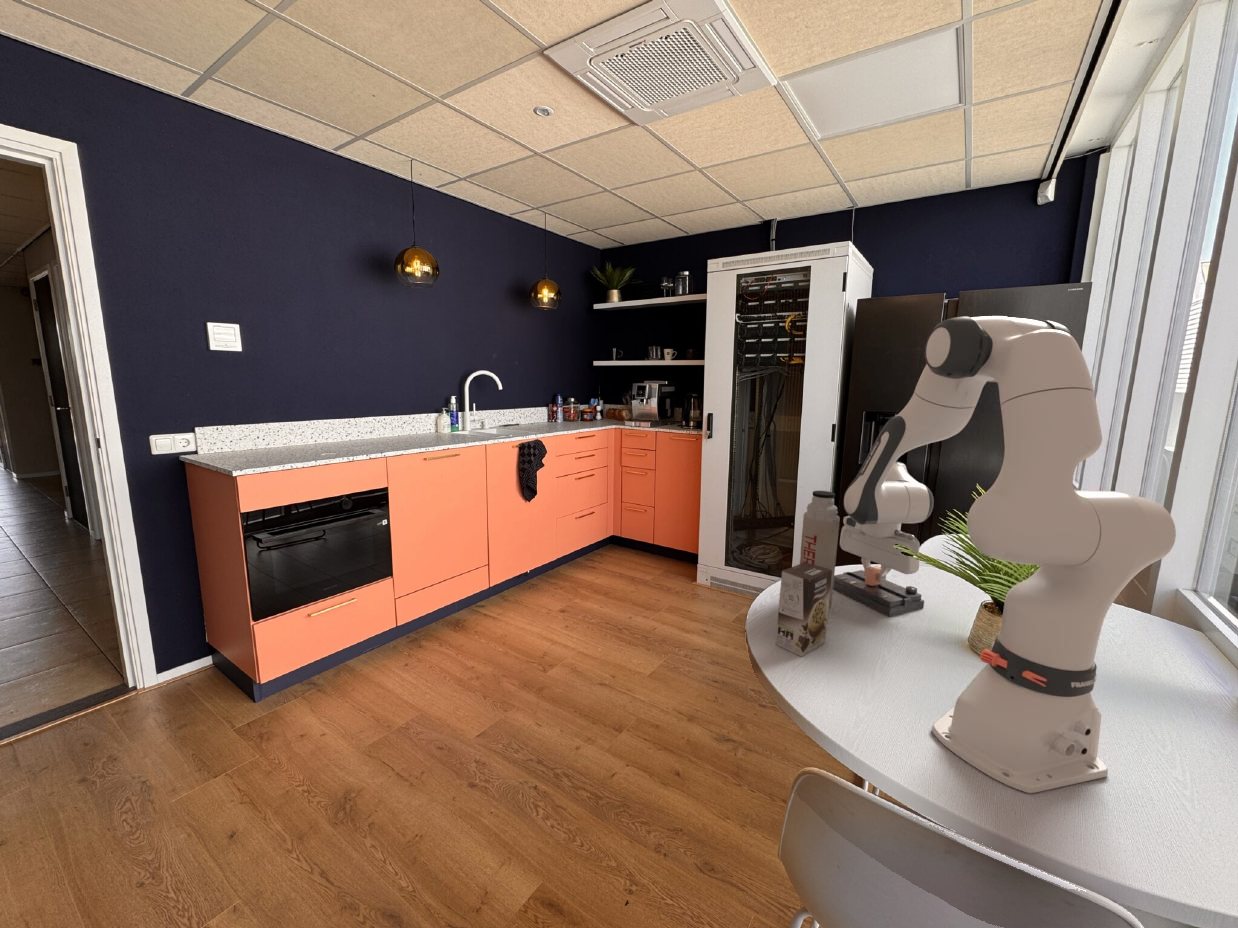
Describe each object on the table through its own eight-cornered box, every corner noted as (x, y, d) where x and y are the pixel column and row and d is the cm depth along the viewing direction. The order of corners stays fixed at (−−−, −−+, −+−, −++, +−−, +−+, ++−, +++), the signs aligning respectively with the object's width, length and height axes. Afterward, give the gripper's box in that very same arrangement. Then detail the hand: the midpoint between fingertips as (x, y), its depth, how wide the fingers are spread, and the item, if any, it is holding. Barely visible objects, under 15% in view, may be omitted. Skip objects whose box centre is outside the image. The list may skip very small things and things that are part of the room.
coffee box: (802, 657, 100) (809, 580, 97) (774, 644, 105) (780, 570, 102) (826, 643, 106) (833, 569, 103) (798, 631, 111) (804, 560, 108)
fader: (871, 591, 127) (873, 570, 126) (864, 588, 128) (866, 567, 127) (882, 589, 128) (884, 567, 127) (875, 586, 130) (877, 565, 129)
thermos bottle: (810, 613, 119) (820, 496, 114) (789, 598, 127) (798, 489, 122) (838, 609, 122) (849, 495, 117) (816, 595, 129) (826, 487, 124)
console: (889, 617, 118) (891, 599, 117) (828, 587, 134) (829, 571, 133) (923, 608, 123) (925, 591, 122) (860, 580, 139) (862, 565, 138)
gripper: (929, 535, 118) (921, 592, 120) (855, 513, 136) (850, 562, 138) (910, 539, 115) (903, 596, 117) (838, 515, 133) (833, 566, 136)
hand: (874, 578), depth 128 cm, fingers closed on fader, 2 cm apart
